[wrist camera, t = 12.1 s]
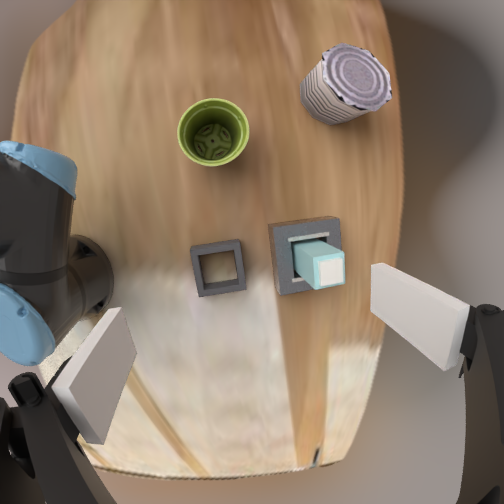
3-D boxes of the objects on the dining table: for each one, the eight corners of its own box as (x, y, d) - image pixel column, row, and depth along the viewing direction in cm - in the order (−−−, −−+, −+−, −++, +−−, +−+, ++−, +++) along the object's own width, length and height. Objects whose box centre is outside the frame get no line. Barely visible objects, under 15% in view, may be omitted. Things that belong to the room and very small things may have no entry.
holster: (199, 290, 47) (199, 297, 44) (191, 246, 45) (189, 250, 42) (244, 283, 48) (246, 289, 45) (238, 238, 46) (239, 242, 43)
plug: (291, 266, 48) (317, 292, 36) (288, 241, 47) (314, 258, 35) (315, 262, 49) (347, 285, 36) (313, 237, 48) (346, 253, 35)
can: (299, 122, 43) (326, 103, 32) (296, 65, 41) (320, 34, 29) (358, 129, 45) (396, 116, 33) (353, 75, 42) (387, 51, 31)
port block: (275, 287, 49) (280, 296, 44) (267, 224, 46) (273, 227, 42) (333, 276, 50) (343, 283, 46) (329, 215, 47) (339, 218, 43)
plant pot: (253, 151, 43) (262, 142, 35) (203, 182, 43) (201, 179, 35) (223, 105, 41) (225, 86, 33) (173, 134, 41) (164, 122, 32)
